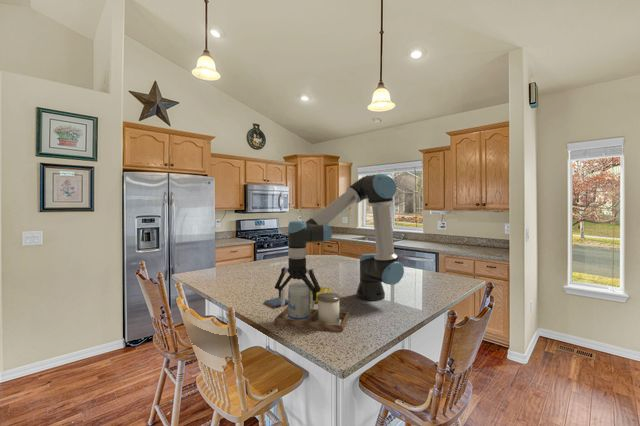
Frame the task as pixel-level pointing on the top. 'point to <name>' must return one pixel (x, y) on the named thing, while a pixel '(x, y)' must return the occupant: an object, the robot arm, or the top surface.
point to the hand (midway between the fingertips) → (297, 306)
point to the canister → (328, 308)
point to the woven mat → (275, 302)
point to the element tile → (323, 290)
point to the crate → (310, 322)
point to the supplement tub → (299, 301)
